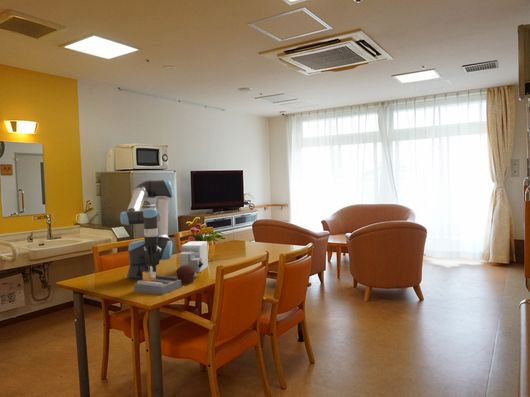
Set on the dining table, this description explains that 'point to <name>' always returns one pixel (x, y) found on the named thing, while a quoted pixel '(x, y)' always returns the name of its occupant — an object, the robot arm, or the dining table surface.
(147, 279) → the breaker toggle
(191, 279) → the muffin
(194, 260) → the circuit breaker
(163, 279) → the breaker panel
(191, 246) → the supplement box
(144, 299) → the dining table surface
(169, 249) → the robot arm
